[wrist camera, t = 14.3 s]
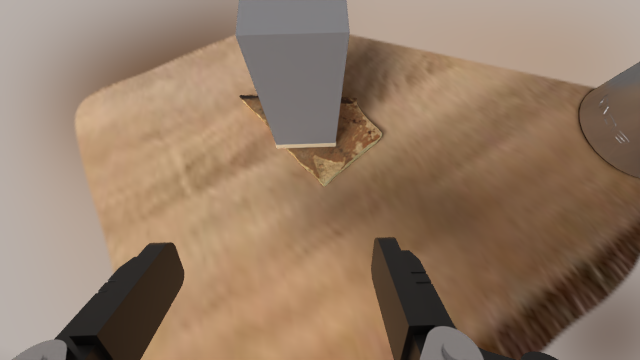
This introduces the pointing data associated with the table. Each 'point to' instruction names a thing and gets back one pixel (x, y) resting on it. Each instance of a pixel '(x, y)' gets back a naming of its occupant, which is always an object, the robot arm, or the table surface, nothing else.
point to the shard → (350, 140)
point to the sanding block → (296, 65)
